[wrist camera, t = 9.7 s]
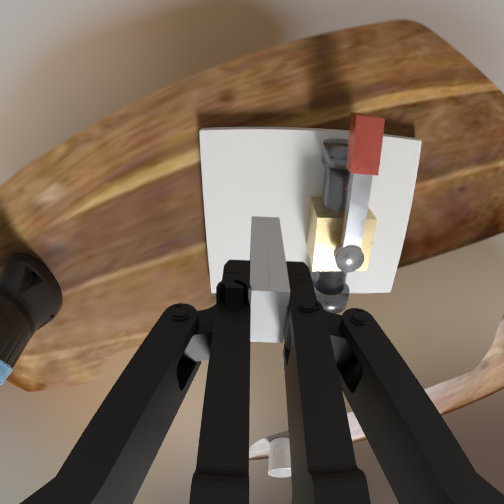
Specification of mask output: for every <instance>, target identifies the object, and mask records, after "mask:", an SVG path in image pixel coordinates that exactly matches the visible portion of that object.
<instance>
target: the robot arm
mask: <svg viewBox="0 0 504 504" xmlns="http://www.w3.org/2000/svg"><path fill="white" fill-rule="evenodd" d="M216 299H217V303H216V305H214V306H213V307H211V308H209V309H205V310H201V311H197V310H196V309H195V308H194V307H193V306H191V305H188V304H182V303H180V304H174V305H172V306H170V307H168V308H167V309H166V310H165V311H164V312H163V314H162V315H161V317H160V318H159V320H158V321H157V322H156V324H155V325H154V327H153V328H152V330H151V331H150V333H149V334H148V335H147V337H146V338H145V340H144V341H143V343H142V344H141V346H140V347H139V349H138V350H137V352H136V353H135V354H134V356H133V358H132V359H131V360H130V362H129V364H128V365H127V366H126V368H125V369H124V371H123V372H122V374H121V375H120V377H119V378H118V380H117V381H116V383H115V384H114V386H113V387H112V389H111V390H110V392H109V393H108V395H107V396H106V398H105V400H104V401H103V403H102V404H101V406H100V407H99V409H98V410H97V412H96V413H95V415H94V417H93V418H92V419H91V421H90V423H89V424H88V426H87V427H86V429H85V430H84V432H83V434H82V435H81V437H80V438H79V440H78V441H77V443H76V445H75V446H74V448H73V450H72V451H71V453H70V454H69V456H68V457H67V459H66V461H65V462H64V464H63V466H62V467H61V469H60V470H59V472H58V474H57V475H56V477H55V478H53V479H52V480H51V481H49V482H48V483H47V484H45V485H44V486H43V487H42V488H40V489H39V490H38V491H36V492H35V493H33V494H32V495H31V496H30V497H28V498H27V499H25V500H24V501H23V502H21V503H20V504H133V501H134V499H135V497H136V495H137V493H138V491H139V489H140V487H141V485H142V483H143V481H144V479H145V477H146V475H147V473H148V471H149V469H150V467H151V465H152V463H153V461H154V459H155V457H156V455H157V453H158V450H159V448H160V446H161V444H162V442H163V440H164V438H165V436H166V434H167V432H168V430H169V428H170V426H171V424H172V422H173V420H174V418H175V416H176V414H177V412H178V409H179V407H180V405H181V403H182V401H183V399H184V397H185V395H186V393H187V391H188V389H189V387H190V385H191V383H192V381H193V379H194V377H195V375H196V372H197V371H198V369H199V366H200V364H201V361H202V360H207V359H209V364H208V372H207V380H206V388H205V396H204V404H203V412H202V421H201V429H200V438H199V447H198V456H197V465H196V470H195V472H194V474H193V478H192V484H191V493H190V504H249V402H250V400H249V399H250V397H249V396H250V342H283V338H284V341H285V344H284V350H283V356H282V362H281V363H284V369H285V382H286V396H287V412H288V427H289V443H290V460H291V477H292V504H371V503H370V497H369V491H368V486H367V480H366V476H365V474H364V472H363V471H362V470H360V469H358V467H357V465H356V461H355V456H354V450H353V444H352V439H351V434H350V428H349V423H348V418H347V413H346V408H345V403H344V398H343V393H342V391H343V392H344V394H345V396H346V398H347V400H348V402H349V404H350V406H351V408H352V410H353V412H354V414H355V416H356V418H357V420H358V422H359V424H360V426H361V428H362V430H363V432H364V434H365V436H366V438H367V440H368V442H369V444H370V446H371V448H372V450H373V451H374V454H375V456H376V458H377V460H378V462H379V464H380V466H381V468H382V470H383V472H384V474H385V476H386V478H387V480H388V482H389V484H390V486H391V488H392V490H393V492H394V494H395V496H396V498H397V500H398V502H399V504H504V495H503V494H502V493H500V492H499V491H498V490H497V489H496V488H494V487H493V486H492V485H491V484H489V483H488V482H487V481H486V480H485V479H483V478H482V477H481V476H480V475H479V474H477V473H476V471H475V470H474V468H473V467H472V465H471V463H470V461H469V460H468V458H467V456H466V455H465V453H464V451H463V450H462V448H461V447H460V445H459V443H458V442H457V440H456V439H455V437H454V435H453V434H452V432H451V431H450V429H449V427H448V426H447V424H446V423H445V421H444V420H443V418H442V416H441V415H440V413H439V412H438V410H437V409H436V407H435V406H434V404H433V403H432V401H431V400H430V398H429V397H428V395H427V394H426V392H425V391H424V389H423V388H422V386H421V385H420V383H419V382H418V380H417V379H416V378H415V376H414V374H413V373H412V372H411V370H410V368H409V367H408V366H407V364H406V363H405V361H404V360H403V358H402V357H401V356H400V354H399V353H398V351H397V350H396V349H395V347H394V346H393V344H392V343H391V341H390V340H389V339H388V337H387V336H386V334H385V333H384V332H383V330H382V329H381V327H380V326H379V325H378V323H377V322H376V321H375V319H374V318H373V316H372V315H371V314H370V313H368V312H366V311H365V310H362V309H358V308H351V309H348V310H346V311H345V312H344V313H343V315H338V314H334V313H331V312H328V311H326V310H324V308H323V306H322V304H321V303H320V302H319V301H318V300H317V298H316V294H315V290H314V286H313V282H312V277H311V273H310V269H309V267H308V266H307V265H306V264H305V263H304V262H296V261H286V258H285V252H284V245H283V238H282V232H281V225H280V219H279V217H260V216H252V219H251V240H250V260H230V259H229V260H228V261H227V263H226V264H225V265H224V269H223V276H222V281H220V282H219V283H218V285H217V287H216ZM61 306H62V294H61V291H60V288H59V286H58V283H57V282H56V280H55V278H54V277H53V275H52V274H51V273H50V271H49V270H48V269H47V268H46V267H45V266H44V265H43V264H42V263H40V262H39V261H38V260H36V259H35V258H33V257H31V256H29V255H26V254H22V253H15V254H12V255H10V256H9V257H8V258H7V259H6V260H5V261H4V262H3V263H2V265H1V266H0V385H2V384H3V383H4V381H5V380H6V378H7V377H8V376H9V374H10V373H11V372H12V371H13V367H14V366H15V364H16V362H17V360H18V359H19V357H20V355H21V354H22V352H23V350H24V349H25V347H26V345H27V344H28V342H29V340H30V339H31V337H32V335H33V334H34V332H35V331H37V330H38V329H40V328H41V327H43V326H44V325H45V324H47V323H48V322H50V321H51V320H53V319H54V318H55V316H56V315H57V313H58V312H59V310H60V309H61Z"/></svg>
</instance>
